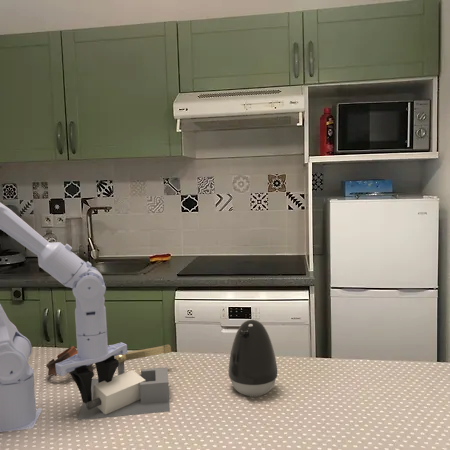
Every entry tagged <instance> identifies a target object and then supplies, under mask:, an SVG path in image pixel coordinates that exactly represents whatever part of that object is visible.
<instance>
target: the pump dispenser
mask: <svg viewBox="0 0 450 450" xmlns="http://www.w3.org/2000/svg"><path fill="white" fill-rule="evenodd" d="M231 345H232V346H231V349H230V355H229V363H228V368H227V369H228V374H227V375H228V378H229V379H230V383H231V385H232V387H233V388H234V389H235V390H236V392H238V393H239V394H241V395H244V396H247V397H250V398H251V397H253V398H255V397H261V396H263V395H265V394H267V393H269V392H270V391H271V390H272V389H273V387H274V385H275V383H276V379H277V378H278V366H277V365H278V364H277V358H276V355H275V350H274V346H273V343H272V340H271V338H270V335H269V333H268V331H267V329H266V328H265V326H264V324H262V322H260V321H259V320H255V319H247V320H245V321H244V322H242V323H241V325H240V326H239V328H238V330H237V331H236V334H235V336H234V339H233V342H232V344H231Z"/></svg>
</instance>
